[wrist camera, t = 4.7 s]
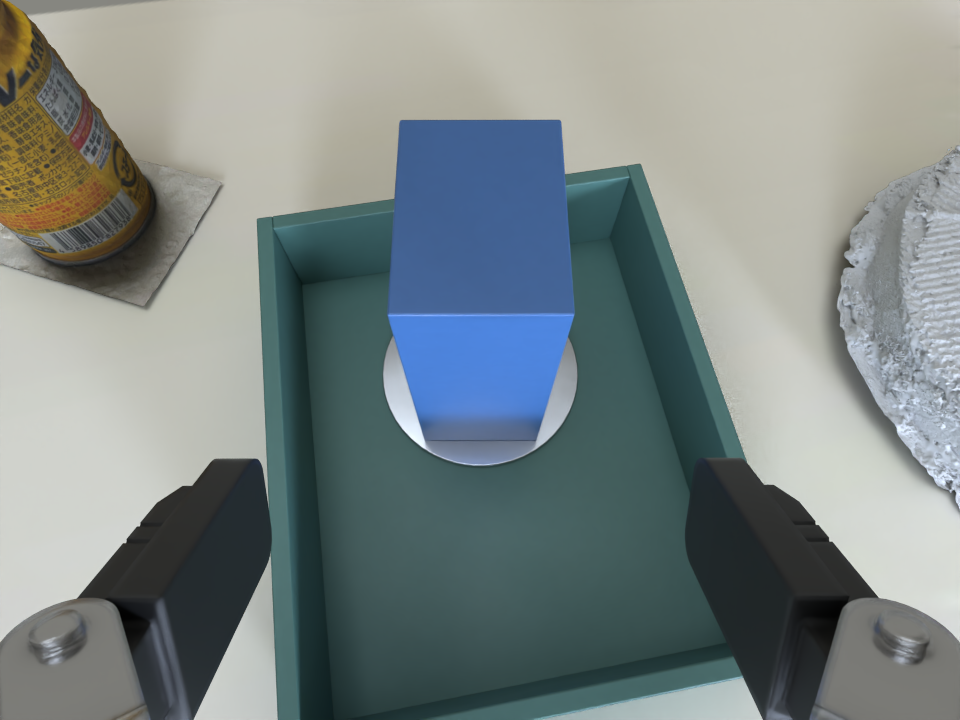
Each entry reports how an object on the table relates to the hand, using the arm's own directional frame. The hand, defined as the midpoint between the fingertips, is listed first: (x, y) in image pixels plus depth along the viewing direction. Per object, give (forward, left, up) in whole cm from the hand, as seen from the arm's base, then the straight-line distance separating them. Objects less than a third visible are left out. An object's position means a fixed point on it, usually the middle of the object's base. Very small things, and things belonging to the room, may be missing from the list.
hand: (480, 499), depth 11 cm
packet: (+1, +7, -12) cm, 14 cm away
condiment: (-15, +18, -13) cm, 27 cm away
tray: (+1, +4, -13) cm, 14 cm away
